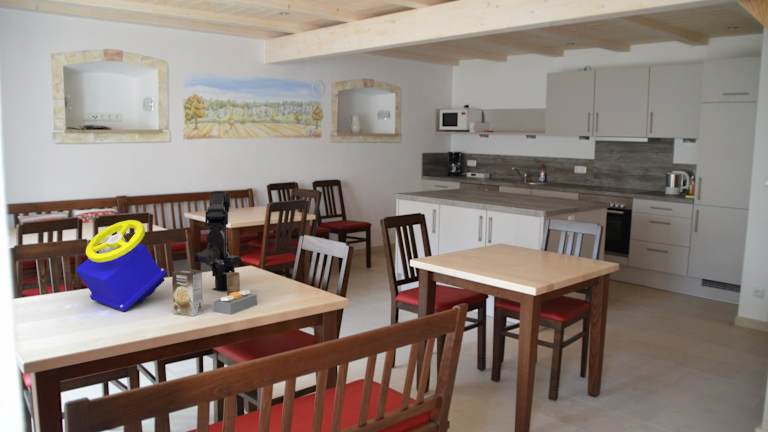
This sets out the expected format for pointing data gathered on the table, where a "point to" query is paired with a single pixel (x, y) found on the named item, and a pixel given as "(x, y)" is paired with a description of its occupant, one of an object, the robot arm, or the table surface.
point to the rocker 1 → (227, 298)
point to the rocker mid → (235, 295)
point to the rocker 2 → (244, 292)
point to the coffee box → (187, 292)
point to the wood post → (233, 282)
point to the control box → (120, 267)
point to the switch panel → (235, 304)
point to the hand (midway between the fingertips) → (218, 280)
